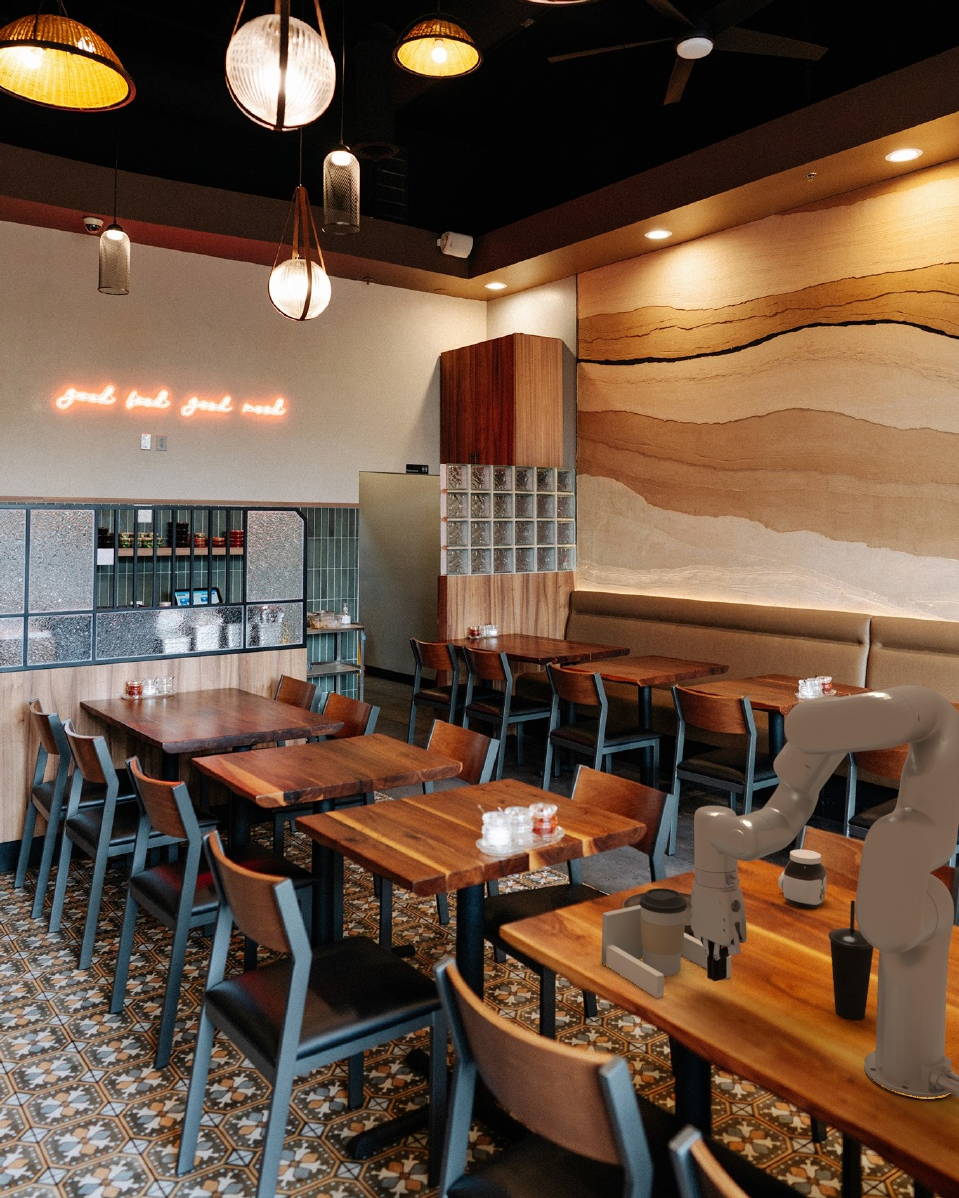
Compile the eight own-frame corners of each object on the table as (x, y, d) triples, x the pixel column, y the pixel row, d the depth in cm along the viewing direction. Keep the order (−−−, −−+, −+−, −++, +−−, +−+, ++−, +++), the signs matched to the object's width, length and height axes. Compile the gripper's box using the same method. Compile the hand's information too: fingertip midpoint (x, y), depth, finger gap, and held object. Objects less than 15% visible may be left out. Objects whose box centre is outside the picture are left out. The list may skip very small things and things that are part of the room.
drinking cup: (834, 999, 168) (837, 890, 167) (879, 1012, 163) (882, 900, 162) (820, 1015, 162) (823, 901, 161) (865, 1029, 157) (868, 912, 156)
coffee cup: (628, 963, 182) (630, 887, 181) (666, 955, 186) (667, 881, 185) (657, 982, 174) (658, 903, 173) (695, 973, 178) (697, 896, 177)
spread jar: (809, 913, 209) (810, 862, 209) (763, 899, 218) (765, 850, 217) (834, 900, 217) (835, 851, 217) (790, 888, 226) (791, 840, 225)
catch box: (730, 977, 176) (731, 925, 176) (657, 998, 167) (658, 943, 167) (672, 945, 191) (673, 897, 190) (601, 963, 182) (602, 912, 181)
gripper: (762, 884, 162) (763, 989, 162) (702, 862, 175) (703, 959, 175) (731, 891, 158) (732, 998, 159) (672, 869, 171) (673, 968, 172)
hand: (717, 978), depth 167 cm, fingers closed
